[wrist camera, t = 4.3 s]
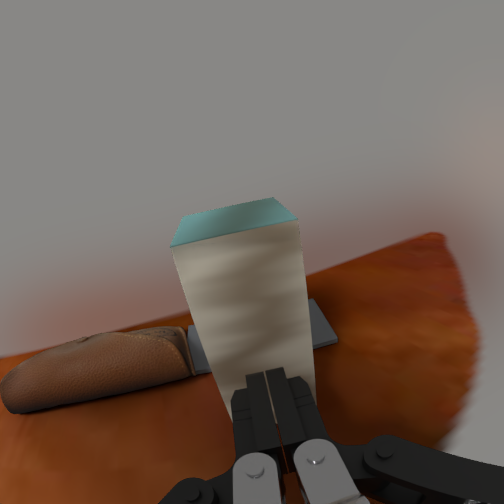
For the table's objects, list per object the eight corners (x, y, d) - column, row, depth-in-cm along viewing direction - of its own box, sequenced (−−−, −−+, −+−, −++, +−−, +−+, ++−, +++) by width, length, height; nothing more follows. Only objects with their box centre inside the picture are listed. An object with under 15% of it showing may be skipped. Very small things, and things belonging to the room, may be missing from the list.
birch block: (236, 431, 15) (169, 246, 11) (230, 377, 20) (183, 216, 16) (317, 412, 15) (297, 218, 11) (297, 362, 20) (272, 197, 16)
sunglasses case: (183, 320, 26) (164, 281, 21) (205, 389, 22) (188, 367, 17) (33, 363, 23) (-6, 335, 17) (40, 425, 18) (-6, 408, 13)
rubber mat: (185, 376, 21) (184, 372, 21) (189, 329, 27) (188, 325, 27) (337, 341, 21) (337, 338, 21) (313, 301, 27) (313, 298, 27)
